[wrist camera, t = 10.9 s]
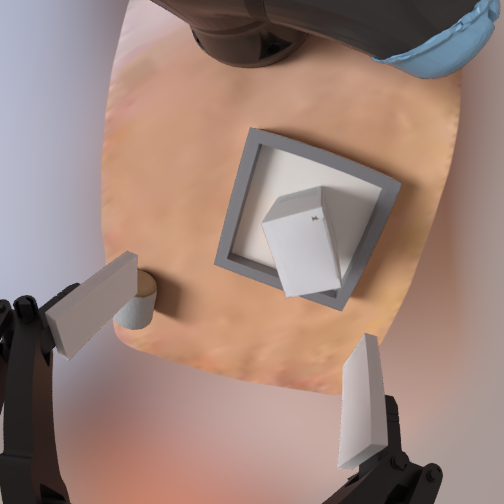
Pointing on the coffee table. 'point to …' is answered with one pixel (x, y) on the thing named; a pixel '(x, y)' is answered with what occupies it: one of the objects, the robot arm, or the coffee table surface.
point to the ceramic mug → (139, 304)
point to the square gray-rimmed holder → (293, 180)
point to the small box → (303, 243)
